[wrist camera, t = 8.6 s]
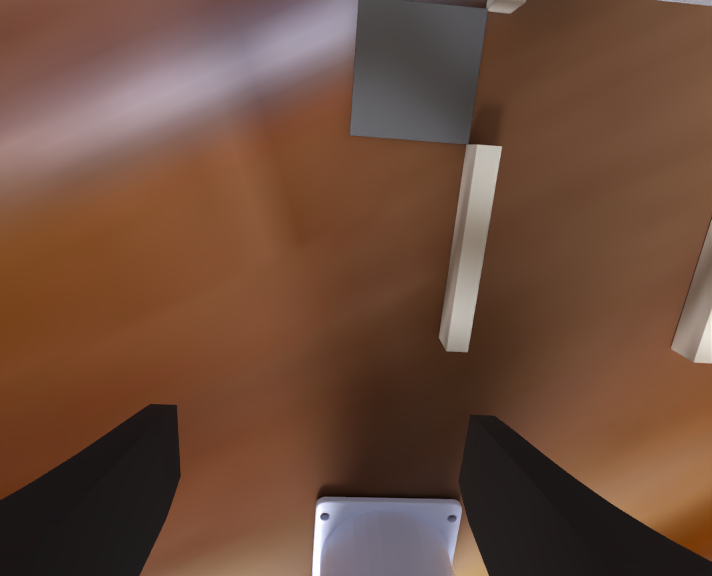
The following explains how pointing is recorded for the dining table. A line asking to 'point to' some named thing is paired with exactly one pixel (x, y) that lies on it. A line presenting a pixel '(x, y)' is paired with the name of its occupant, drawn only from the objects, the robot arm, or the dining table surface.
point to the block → (693, 2)
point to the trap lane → (462, 140)
